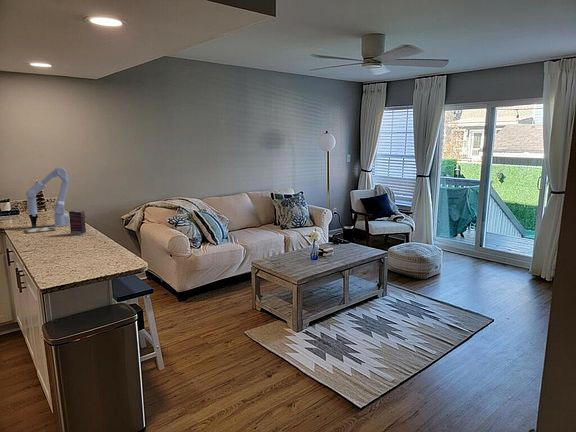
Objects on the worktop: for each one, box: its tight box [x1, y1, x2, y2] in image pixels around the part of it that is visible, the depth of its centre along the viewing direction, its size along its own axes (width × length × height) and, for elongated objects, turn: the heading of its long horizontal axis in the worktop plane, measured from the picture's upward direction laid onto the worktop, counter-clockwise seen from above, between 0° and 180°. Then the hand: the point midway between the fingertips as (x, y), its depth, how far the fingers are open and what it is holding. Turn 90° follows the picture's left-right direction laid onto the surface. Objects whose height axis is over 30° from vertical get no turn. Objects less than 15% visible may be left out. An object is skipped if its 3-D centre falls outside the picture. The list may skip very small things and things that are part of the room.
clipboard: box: [23, 226, 56, 235], centre depth 284 cm, size 18×14×2 cm
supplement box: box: [68, 210, 87, 236], centre depth 274 cm, size 9×5×16 cm, turn 84°
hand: (34, 224), depth 292 cm, fingers closed on marker, 3 cm apart
